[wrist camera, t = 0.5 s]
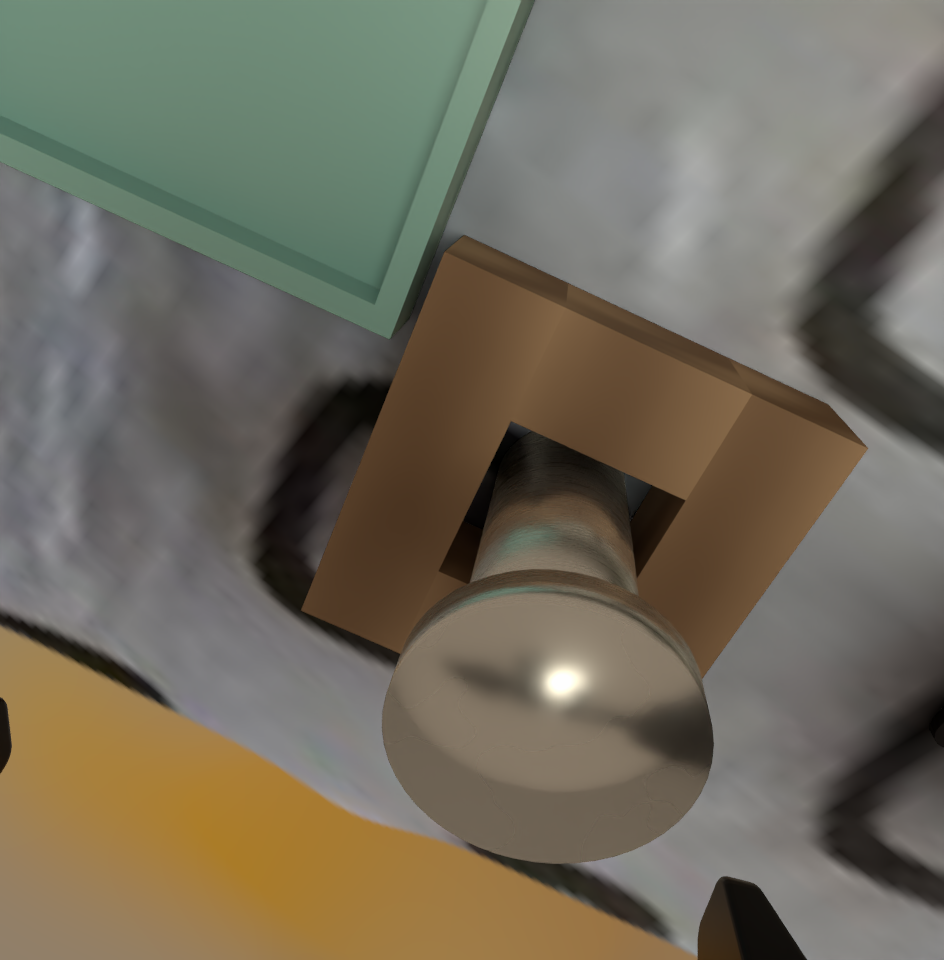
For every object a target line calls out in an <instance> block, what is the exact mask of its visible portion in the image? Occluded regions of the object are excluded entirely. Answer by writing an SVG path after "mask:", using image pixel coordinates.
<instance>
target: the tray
mask: <svg viewBox="0 0 944 960" xmlns="http://www.w3.org/2000/svg"><path fill="white" fill-rule="evenodd" d="M534 1H535V0H0V162H2V163H4V164H6V165H8V166H10V167H13V168H15V169H17V170H19V171H21V172H24V173H26V174H28V175H30V176H32V177H35V178H37V179H39V180H41V181H43V182H45V183H48V184H50V185H52V186H54V187H56V188H59V189H61V190H63V191H65V192H67V193H70V194H72V195H74V196H76V197H78V198H81V199H83V200H85V201H87V202H89V203H91V204H94V205H96V206H98V207H100V208H102V209H105V210H107V211H109V212H111V213H113V214H116V215H118V216H120V217H122V218H124V219H127V220H129V221H131V222H133V223H135V224H138V225H140V226H142V227H144V228H146V229H148V230H151V231H153V232H155V233H157V234H159V235H162V236H164V237H166V238H168V239H170V240H173V241H175V242H177V243H179V244H181V245H184V246H186V247H188V248H190V249H192V250H194V251H197V252H199V253H201V254H203V255H205V256H208V257H210V258H212V259H214V260H216V261H219V262H221V263H223V264H225V265H227V266H230V267H232V268H234V269H236V270H238V271H240V272H243V273H245V274H247V275H249V276H251V277H254V278H256V279H258V280H260V281H262V282H265V283H267V284H269V285H271V286H273V287H276V288H278V289H280V290H282V291H284V292H286V293H289V294H291V295H293V296H295V297H297V298H300V299H302V300H304V301H306V302H308V303H311V304H313V305H315V306H317V307H319V308H322V309H324V310H326V311H328V312H330V313H332V314H335V315H337V316H339V317H341V318H343V319H346V320H348V321H350V322H352V323H354V324H357V325H359V326H361V327H363V328H365V329H368V330H370V331H372V332H374V333H376V334H379V335H381V336H383V337H385V338H387V339H389V340H390V339H391V338H392V337H393V336H394V335H395V333H396V332H397V331H398V330H399V329H400V328H401V327H402V326H403V325H404V324H405V323H406V322H407V321H408V320H409V318H410V315H411V313H412V310H413V308H414V305H415V303H416V300H417V298H418V295H419V293H420V290H421V288H422V285H423V282H424V280H425V277H426V275H427V272H428V270H429V267H430V265H431V262H432V260H433V257H434V255H435V252H436V250H437V247H438V244H439V242H440V239H441V237H442V234H443V232H444V229H445V227H446V224H447V222H448V219H449V217H450V214H451V212H452V209H453V207H454V204H455V201H456V199H457V196H458V194H459V191H460V189H461V186H462V184H463V181H464V179H465V176H466V174H467V171H468V169H469V166H470V163H471V161H472V158H473V156H474V153H475V151H476V148H477V146H478V143H479V141H480V138H481V136H482V133H483V131H484V128H485V125H486V123H487V120H488V118H489V115H490V113H491V110H492V108H493V105H494V103H495V100H496V98H497V95H498V93H499V90H500V87H501V85H502V82H503V80H504V77H505V75H506V72H507V70H508V67H509V65H510V62H511V60H512V57H513V55H514V52H515V50H516V47H517V44H518V42H519V39H520V37H521V34H522V32H523V29H524V27H525V24H526V22H527V19H528V17H529V14H530V12H531V9H532V6H533V4H534Z"/></svg>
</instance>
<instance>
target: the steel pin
mask: <svg viewBox="0 0 944 960" xmlns="http://www.w3.org/2000/svg"><path fill="white" fill-rule="evenodd" d="M382 732H383V740H384V746H385V750H386V753H387V757H388V760H389V762H390V765H391V767H392V769H393V771H394V773H395V776H396V777H397V779H398V781H399V782H400V784H401V785H402V787H403V788H404V790H405V791H406V793H407V794H408V795H409V796H410V798H411V799H412V800H413V801H414V802H415V804H416V805H417V806H418V807H419V808H420V809H421V810H422V811H424V812H425V813H426V814H427V815H428V816H429V817H430V818H431V819H432V820H434V821H435V822H436V823H438V824H439V825H440V826H442V827H443V828H444V829H446V830H447V831H449V832H451V833H452V834H454V835H456V836H457V837H459V838H461V839H463V840H465V841H467V842H469V843H471V844H473V845H475V846H477V847H480V848H482V849H485V850H488V851H491V852H493V853H496V854H499V855H503V856H507V857H511V858H515V859H520V860H526V861H532V862H541V863H555V864H557V863H580V862H589V861H596V860H601V859H605V858H610V857H614V856H617V855H620V854H623V853H626V852H629V851H632V850H634V849H636V848H638V847H640V846H643V845H645V844H647V843H649V842H651V841H652V840H654V839H656V838H657V837H659V836H660V835H662V834H664V833H665V832H666V831H667V830H669V829H670V828H671V827H672V826H674V825H675V824H676V823H677V822H678V821H679V820H680V819H681V818H682V817H683V816H684V815H685V814H686V813H687V812H688V811H689V810H690V808H691V807H692V806H693V804H694V803H695V801H696V800H697V798H698V797H699V795H700V794H701V791H702V789H703V787H704V785H705V783H706V781H707V778H708V775H709V771H710V768H711V764H712V757H713V746H714V742H713V730H712V723H711V719H710V714H709V710H708V705H707V701H706V696H705V691H704V687H703V682H702V679H701V675H700V671H699V667H698V665H697V663H696V660H695V658H694V656H693V653H692V651H691V649H690V648H689V646H688V645H687V643H686V642H685V640H684V638H683V637H682V635H681V634H680V633H679V632H678V631H677V629H676V628H675V627H674V626H673V625H672V623H671V622H670V621H669V620H668V619H667V618H666V617H664V616H663V615H662V614H661V613H660V612H659V611H658V610H657V609H656V608H654V607H653V606H652V605H650V604H649V603H647V602H646V601H644V600H643V599H641V598H640V597H639V594H638V586H637V577H636V569H635V561H634V552H633V544H632V536H631V527H630V519H629V511H628V502H627V494H626V486H625V477H624V472H622V471H620V470H618V469H615V468H613V467H611V466H609V465H607V464H604V463H602V462H600V461H598V460H596V459H593V458H591V457H589V456H587V455H585V454H582V453H580V452H578V451H576V450H574V449H571V448H569V447H567V446H565V445H563V444H560V443H558V442H556V441H554V440H552V439H549V438H547V437H545V436H543V435H541V434H538V433H536V432H534V431H532V432H530V433H528V434H527V435H525V436H523V437H522V438H520V439H519V440H518V441H516V442H515V443H514V444H513V445H512V446H511V447H510V449H509V450H508V451H507V452H506V454H505V456H504V457H503V459H502V461H501V464H500V466H499V470H498V474H497V478H496V481H495V485H494V489H493V493H492V497H491V501H490V505H489V509H488V513H487V517H486V521H485V525H484V529H483V533H482V537H481V541H480V545H479V549H478V553H477V556H476V560H475V564H474V568H473V572H472V576H471V580H470V583H469V584H467V585H465V586H463V587H461V588H459V589H457V590H455V591H453V592H452V593H450V594H449V595H447V596H446V597H444V598H443V599H441V600H440V601H438V602H437V603H436V604H435V605H434V606H433V607H432V608H431V609H429V610H428V611H427V612H426V613H425V614H424V615H423V617H422V618H421V619H420V620H419V621H418V623H417V624H416V625H415V626H414V628H413V629H412V631H411V633H410V635H409V636H408V638H407V640H406V641H405V644H404V646H403V649H402V652H401V654H400V657H399V660H398V662H397V665H396V668H395V671H394V674H393V677H392V679H391V682H390V685H389V688H388V691H387V694H386V697H385V702H384V707H383V714H382Z"/></svg>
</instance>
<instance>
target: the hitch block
mask: <svg viewBox="0 0 944 960" xmlns="http://www.w3.org/2000/svg"><path fill="white" fill-rule="evenodd" d="M511 421H512V422H514V423H516V424H519V425H521V426H523V427H525V428H527V429H530V430H532V431H534V432H536V433H538V434H541V435H543V436H545V437H547V438H549V439H552V440H554V441H556V442H558V443H560V444H563V445H565V446H567V447H569V448H571V449H574V450H576V451H578V452H580V453H582V454H585V455H587V456H589V457H591V458H593V459H596V460H598V461H600V462H602V463H604V464H607V465H609V466H611V467H613V468H615V469H618V470H620V471H622V472H624V473H626V474H629V475H631V476H633V477H635V478H637V479H640V480H642V481H644V482H646V483H648V484H651V485H652V487H651V489H650V490H649V492H648V494H647V495H646V497H645V499H644V500H643V502H642V504H641V505H640V507H639V509H638V510H637V512H636V514H635V516H634V517H633V519H632V521H631V522H630V527H631V536H632V544H633V552H634V561H635V569H636V577H637V586H638V594H639V597H640V598H641V599H643V600H644V601H646V602H647V603H649V604H650V605H652V606H653V607H654V608H656V609H657V610H658V611H659V612H660V613H661V614H662V615H663V616H664V617H666V618H667V619H668V620H669V621H670V622H671V623H672V625H673V626H674V627H675V628H676V629H677V631H678V632H679V633H680V634H681V635H682V637H683V638H684V640H685V642H686V643H687V645H688V646H689V648H690V649H691V651H692V653H693V656H694V658H695V660H696V663H697V665H698V667H699V671H700V675H701V679H702V678H703V677H704V675H705V674H706V673H707V671H708V670H709V668H710V667H711V666H712V664H713V663H714V661H715V660H716V659H717V657H718V656H719V655H720V653H721V652H722V650H723V649H724V648H725V646H726V645H727V643H728V642H729V641H730V639H731V638H732V637H733V635H734V634H735V632H736V631H737V630H738V628H739V627H740V625H741V624H742V623H743V621H744V620H745V619H746V617H747V616H748V614H749V613H750V612H751V610H752V609H753V607H754V606H755V605H756V603H757V602H758V601H759V599H760V598H761V596H762V595H763V594H764V592H765V591H766V589H767V588H768V587H769V585H770V584H771V582H772V581H773V580H774V578H775V577H776V576H777V574H778V573H779V571H780V570H781V569H782V567H783V566H784V564H785V563H786V562H787V560H788V559H789V558H790V556H791V555H792V553H793V552H794V551H795V549H796V548H797V546H798V545H799V544H800V542H801V541H802V540H803V538H804V537H805V535H806V534H807V533H808V531H809V530H810V528H811V527H812V526H813V524H814V523H815V521H816V520H817V519H818V517H819V516H820V515H821V513H822V512H823V510H824V509H825V508H826V506H827V505H828V503H829V502H830V501H831V499H832V498H833V497H834V495H835V494H836V492H837V491H838V490H839V488H840V487H841V485H842V484H843V483H844V481H845V480H846V479H847V477H848V476H849V474H850V473H851V472H852V470H853V469H854V467H855V466H856V465H857V463H858V462H859V460H860V459H861V458H862V456H863V455H864V454H865V452H866V451H867V449H868V448H867V447H866V445H865V444H864V443H863V442H862V441H861V440H860V439H859V438H858V437H857V436H856V434H855V433H854V432H853V431H852V430H851V429H850V428H849V427H848V426H847V425H846V423H845V422H844V421H843V420H842V419H841V418H840V417H839V416H838V415H837V414H836V412H835V411H834V410H833V409H832V408H831V407H830V406H829V405H828V404H826V403H824V402H821V401H819V400H817V399H815V398H813V397H811V396H809V395H806V394H804V393H802V392H800V391H798V390H796V389H794V388H791V387H789V386H787V385H785V384H783V383H781V382H779V381H776V380H774V379H772V378H770V377H768V376H766V375H764V374H761V373H759V372H757V371H755V370H753V369H751V368H749V367H746V366H744V365H742V364H740V363H738V362H736V361H734V360H731V359H729V358H727V357H725V356H723V355H721V354H719V353H716V352H714V351H712V350H710V349H708V348H706V347H704V346H701V345H699V344H697V343H695V342H693V341H691V340H689V339H686V338H684V337H682V336H680V335H678V334H676V333H674V332H671V331H669V330H667V329H665V328H663V327H661V326H659V325H656V324H654V323H652V322H650V321H648V320H646V319H643V318H641V317H639V316H637V315H635V314H633V313H631V312H628V311H626V310H624V309H622V308H620V307H618V306H616V305H613V304H611V303H609V302H607V301H605V300H603V299H601V298H598V297H596V296H594V295H592V294H590V293H588V292H586V291H583V290H581V289H579V288H577V287H575V286H573V285H571V284H568V283H566V282H564V281H562V280H560V279H558V278H556V277H553V276H551V275H549V274H547V273H545V272H543V271H541V270H538V269H536V268H534V267H532V266H530V265H528V264H526V263H523V262H521V261H519V260H517V259H515V258H513V257H511V256H508V255H506V254H504V253H502V252H500V251H498V250H496V249H493V248H491V247H489V246H487V245H485V244H483V243H481V242H478V241H476V240H474V239H472V238H470V237H468V236H466V235H464V236H463V237H461V238H460V239H459V240H458V241H457V242H455V243H454V244H453V245H452V246H451V247H450V248H448V249H447V250H446V251H445V252H444V254H443V257H442V259H441V262H440V264H439V267H438V269H437V272H436V274H435V277H434V279H433V282H432V284H431V287H430V289H429V292H428V294H427V297H426V299H425V302H424V304H423V307H422V309H421V312H420V314H419V317H418V319H417V322H416V324H415V327H414V329H413V332H412V334H411V337H410V339H409V342H408V344H407V347H406V349H405V352H404V354H403V357H402V359H401V362H400V364H399V367H398V369H397V372H396V374H395V377H394V379H393V382H392V384H391V387H390V389H389V392H388V394H387V397H386V399H385V402H384V404H383V407H382V409H381V412H380V414H379V417H378V419H377V422H376V424H375V427H374V429H373V432H372V434H371V437H370V439H369V442H368V444H367V447H366V449H365V452H364V454H363V457H362V459H361V462H360V464H359V467H358V469H357V472H356V474H355V477H354V479H353V482H352V484H351V487H350V489H349V492H348V494H347V497H346V499H345V502H344V504H343V507H342V509H341V512H340V514H339V517H338V519H337V522H336V524H335V527H334V529H333V532H332V534H331V537H330V539H329V542H328V544H327V547H326V549H325V552H324V554H323V557H322V559H321V562H320V564H319V567H318V569H317V572H316V574H315V577H314V579H313V582H312V584H311V587H310V589H309V592H308V594H307V597H306V599H305V602H304V604H303V607H302V609H301V611H303V612H306V613H308V614H310V615H313V616H315V617H317V618H319V619H322V620H324V621H326V622H329V623H331V624H333V625H336V626H338V627H340V628H342V629H345V630H347V631H349V632H352V633H354V634H356V635H359V636H361V637H363V638H365V639H368V640H370V641H372V642H375V643H377V644H379V645H382V646H384V647H386V648H388V649H391V650H393V651H395V652H398V653H400V654H401V652H402V649H403V646H404V644H405V641H406V640H407V638H408V636H409V635H410V633H411V631H412V629H413V628H414V626H415V625H416V624H417V623H418V621H419V620H420V619H421V618H422V617H423V615H424V614H425V613H426V612H427V611H428V610H429V609H431V608H432V607H433V606H434V605H435V604H436V603H437V602H438V601H440V600H441V599H443V598H444V597H446V596H447V595H449V594H450V593H452V592H453V591H455V590H457V589H459V588H461V587H463V586H465V585H467V584H469V583H470V580H471V576H472V572H473V568H474V564H475V560H476V556H477V553H478V549H479V545H480V541H481V537H482V533H483V530H482V529H480V528H478V527H476V526H473V525H471V524H469V523H467V522H464V521H463V519H464V517H465V515H466V513H467V511H468V509H469V507H470V505H471V503H472V501H473V499H474V497H475V494H476V492H477V490H478V488H479V486H480V484H481V482H482V480H483V478H484V476H485V474H486V472H487V470H488V468H489V466H490V463H491V461H492V459H493V457H494V455H495V453H496V451H497V449H498V447H499V445H500V443H501V441H502V439H503V437H504V435H505V433H506V430H507V428H508V426H509V424H510V422H511Z"/></svg>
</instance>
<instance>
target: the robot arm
mask: <svg viewBox="0 0 944 960" xmlns="http://www.w3.org/2000/svg"><path fill="white" fill-rule="evenodd" d="M929 730H930V731H931V733H932V735H933V737H934V739H935V740H936V742H937V744H939V745H940V746H942V747H944V707H943V708H942V709H941V710H940V711H939V712H938V713H937V714H936V715H935V717H934V718H933V719H932V720H931V722H930V724H929ZM11 748H12V744H11V734H10V726H9V718H8V709H7V704H6V702H5V701H4V700H3V699H2V698H0V773H1V772H2V770H3V769H4V767H5V765H6V764H7V762H8V759H9V757H10V753H11ZM698 960H807V959H806V958H805V956H804V955H803V953H802V952H801V950H800V948H799V947H798V945H797V944H796V942H795V941H794V939H793V938H792V936H791V935H790V933H789V932H788V930H787V929H786V927H785V926H784V924H783V922H782V921H781V919H780V918H779V916H778V915H777V913H776V912H775V910H774V909H773V907H772V906H771V904H770V903H769V901H768V900H767V898H766V896H765V895H764V893H763V892H762V891H761V889H760V888H759V887H758V886H757V885H755V884H754V883H751V882H748V881H744V880H740V879H736V878H731V877H727V876H724V877H721V878H720V879H719V880H718V882H717V883H716V885H715V888H714V890H713V893H712V895H711V898H710V900H709V902H708V905H707V907H706V910H705V912H704V915H703V917H702V920H701V923H700V927H699V933H698Z"/></svg>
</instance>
